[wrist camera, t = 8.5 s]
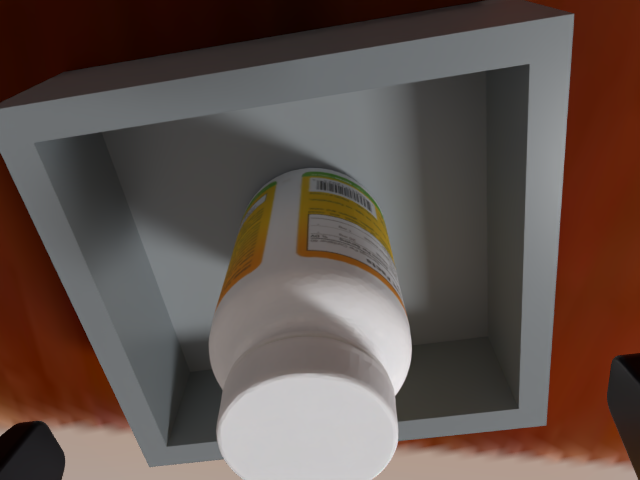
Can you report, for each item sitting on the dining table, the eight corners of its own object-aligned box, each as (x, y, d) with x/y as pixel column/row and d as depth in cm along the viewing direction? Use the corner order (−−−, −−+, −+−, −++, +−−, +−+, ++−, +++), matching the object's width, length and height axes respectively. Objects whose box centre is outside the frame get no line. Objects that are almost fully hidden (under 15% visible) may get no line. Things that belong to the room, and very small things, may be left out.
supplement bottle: (269, 304, 22) (234, 536, 13) (220, 186, 19) (137, 380, 11) (399, 272, 21) (452, 497, 12) (365, 146, 18) (403, 318, 10)
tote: (508, -4, 17) (574, 14, 12) (504, 336, 24) (546, 425, 19) (63, 71, 18) (-20, 111, 14) (179, 375, 25) (149, 467, 20)
